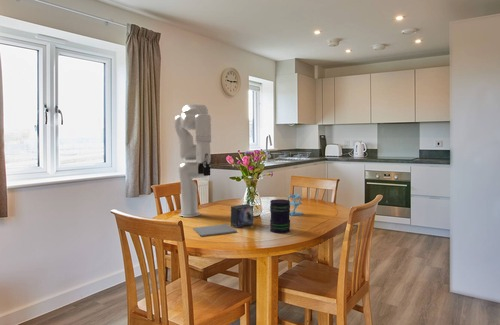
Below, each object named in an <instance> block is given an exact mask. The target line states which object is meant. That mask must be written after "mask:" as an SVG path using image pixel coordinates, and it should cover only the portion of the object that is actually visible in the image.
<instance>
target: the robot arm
mask: <svg viewBox="0 0 500 325" xmlns="http://www.w3.org/2000/svg"><path fill="white" fill-rule="evenodd" d="M211 122H212V117H211V115H210V114H209V109H208V107H207V106H206V105H205V104H197V103H196V104H195V103H194V104H192V103H191V104H190V103H188V104H185V105H184V106H183V107H182V108H181V114H179V115H176V116H175V117H174V122H173V123H174V129H175V132H176V135H177V137H178V144H179V156H180V159H181V160H182V161H188V162H183V163H180V164H179V165H178V174H179V179H180V206H181V207H180V208H181V209H180V210H181V212H179V213H178V216H179V217H181V216H183V217H182V218H196V217H198V216H200V215H201V211H198V186H197V183H196V182H195V180H194V179H203V178H204V179H205V178H207V177H208V176H211V144H210V143H212V123H211ZM189 130H190V131H191V130H193V131H194V130H195V143H196V144H195V143H194V135H192V134H191V132H190V131H189ZM189 161H193V162H189ZM194 161H195V162H194Z"/></svg>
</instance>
